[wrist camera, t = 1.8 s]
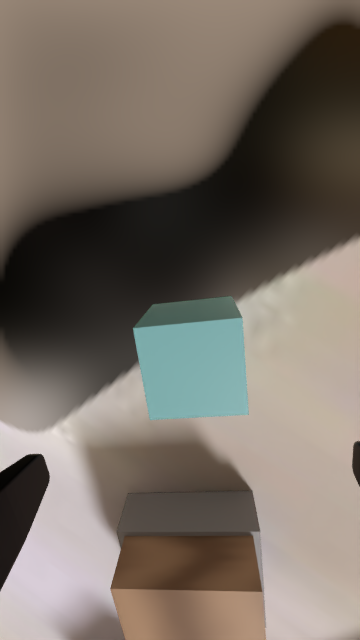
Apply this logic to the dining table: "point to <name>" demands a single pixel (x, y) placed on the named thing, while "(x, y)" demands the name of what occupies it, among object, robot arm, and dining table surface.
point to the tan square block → (189, 588)
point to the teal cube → (193, 359)
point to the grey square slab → (192, 517)
